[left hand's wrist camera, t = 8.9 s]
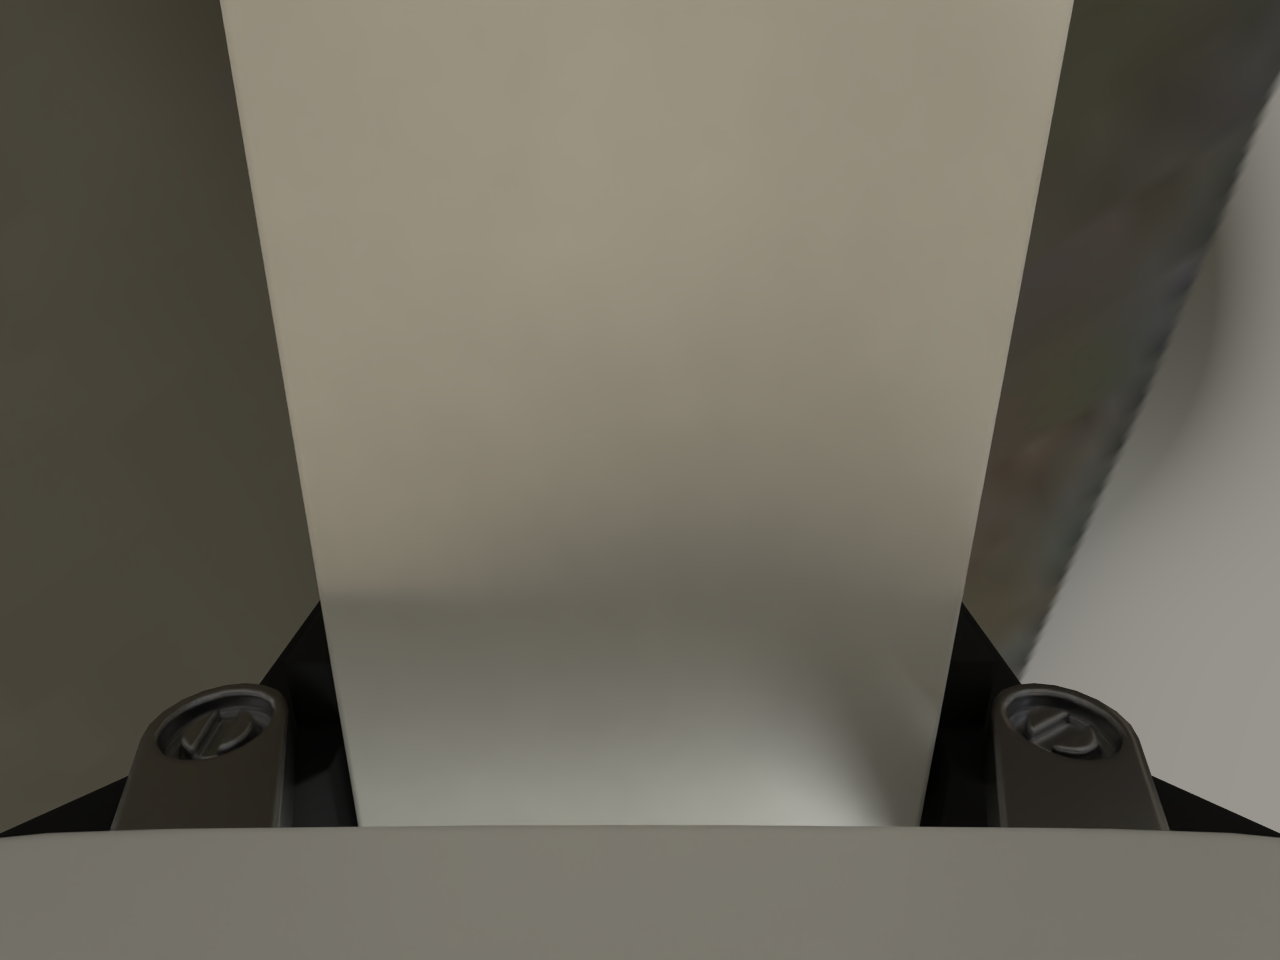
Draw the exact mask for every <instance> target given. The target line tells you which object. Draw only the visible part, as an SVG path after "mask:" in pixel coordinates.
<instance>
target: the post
mask: <svg viewBox="0 0 1280 960" xmlns="http://www.w3.org/2000/svg"><path fill="white" fill-rule="evenodd" d="M1073 2H1074V0H220V4H221V10H222V16H223V22H224V28H225V34H226V40H227V46H228V52H229V58H230V64H231V70H232V76H233V82H234V88H235V94H236V100H237V106H238V112H239V118H240V123H241V129H242V135H243V141H244V147H245V153H246V159H247V165H248V171H249V177H250V183H251V189H252V195H253V201H254V207H255V213H256V219H257V225H258V231H259V237H260V243H261V249H262V255H263V261H264V267H265V273H266V279H267V285H268V291H269V297H270V303H271V309H272V315H273V321H274V326H275V332H276V338H277V344H278V350H279V356H280V362H281V368H282V374H283V380H284V386H285V392H286V398H287V404H288V410H289V416H290V422H291V428H292V434H293V440H294V446H295V452H296V458H297V464H298V470H299V476H300V482H301V488H302V494H303V500H304V506H305V512H306V518H307V524H308V529H309V535H310V541H311V547H312V553H313V559H314V565H315V571H316V577H317V583H318V589H319V595H320V601H321V607H322V613H323V619H324V625H325V631H326V637H327V643H328V649H329V655H330V661H331V667H332V673H333V679H334V685H335V691H336V697H337V703H338V709H339V715H340V721H341V726H342V732H343V738H344V744H345V750H346V756H347V762H348V768H349V774H350V780H351V786H352V792H353V798H354V804H355V810H356V816H357V822H358V827H386V826H474V825H772V826H883V827H919V826H920V821H921V815H922V810H923V805H924V799H925V794H926V789H927V783H928V778H929V773H930V767H931V762H932V757H933V751H934V746H935V740H936V735H937V730H938V724H939V719H940V714H941V708H942V703H943V698H944V692H945V687H946V682H947V676H948V671H949V666H950V660H951V655H952V650H953V644H954V639H955V633H956V628H957V623H958V617H959V612H960V607H961V601H962V596H963V591H964V585H965V580H966V575H967V569H968V564H969V559H970V553H971V548H972V543H973V537H974V532H975V527H976V521H977V516H978V510H979V505H980V500H981V494H982V489H983V484H984V478H985V473H986V468H987V462H988V457H989V452H990V446H991V441H992V436H993V430H994V425H995V420H996V414H997V409H998V403H999V398H1000V393H1001V387H1002V382H1003V377H1004V371H1005V366H1006V361H1007V355H1008V350H1009V345H1010V339H1011V334H1012V329H1013V323H1014V318H1015V313H1016V307H1017V302H1018V297H1019V291H1020V286H1021V280H1022V275H1023V270H1024V264H1025V259H1026V254H1027V248H1028V243H1029V238H1030V232H1031V227H1032V222H1033V216H1034V211H1035V206H1036V200H1037V195H1038V190H1039V184H1040V179H1041V173H1042V168H1043V163H1044V157H1045V152H1046V147H1047V141H1048V136H1049V131H1050V125H1051V120H1052V115H1053V109H1054V104H1055V99H1056V93H1057V88H1058V83H1059V77H1060V72H1061V67H1062V61H1063V56H1064V50H1065V45H1066V40H1067V34H1068V29H1069V24H1070V18H1071V13H1072V8H1073Z"/></svg>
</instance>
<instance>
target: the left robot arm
mask: <svg viewBox="0 0 1280 960" xmlns="http://www.w3.org/2000/svg"><path fill="white" fill-rule="evenodd" d="M0 960H1280V833H1278V832H1276V831H1273V830H1271V829H1269V828H1267V827H1265V826H1262V825H1260V824H1258V823H1256V822H1253V821H1251V820H1249V819H1247V818H1245V817H1242V816H1240V815H1238V814H1236V813H1233V812H1231V811H1229V810H1227V809H1224V808H1222V807H1220V806H1218V805H1216V804H1213V803H1211V802H1209V801H1207V800H1205V799H1202V798H1200V797H1198V796H1196V795H1193V794H1191V793H1189V792H1187V791H1185V790H1182V789H1180V788H1178V787H1176V786H1173V785H1171V784H1169V783H1167V782H1165V781H1162V780H1160V779H1158V778H1156V777H1153V776H1151V773H1150V770H1149V767H1148V764H1147V761H1146V758H1145V755H1144V752H1143V749H1142V746H1141V743H1140V741H1139V738H1138V736H1137V735H1136V733H1135V731H1134V730H1133V728H1132V726H1131V725H1130V724H1129V723H1128V722H1127V721H1126V720H1125V719H1124V718H1123V717H1122V716H1121V715H1120V714H1119V713H1118V712H1116V711H1115V710H1113V709H1112V708H1110V707H1108V706H1107V705H1105V704H1104V703H1102V702H1100V701H1099V700H1097V699H1094V698H1092V697H1090V696H1087V695H1085V694H1083V693H1080V692H1078V691H1075V690H1071V689H1067V688H1063V687H1059V686H1055V685H1046V684H1036V683H1032V684H1021V683H1020V682H1019V680H1018V679H1017V678H1016V676H1015V675H1014V674H1013V672H1012V671H1011V669H1010V668H1009V667H1008V665H1007V664H1006V662H1005V661H1004V660H1003V658H1002V657H1001V656H1000V654H999V653H998V651H997V650H996V649H995V647H994V646H993V644H992V643H991V642H990V640H989V639H988V638H987V636H986V635H985V633H984V632H983V631H982V629H981V628H980V626H979V625H978V624H977V622H976V621H975V619H974V618H973V617H972V615H971V614H970V613H969V611H968V610H967V608H966V607H965V606H964V604H963V603H962V601H961V607H960V612H959V617H958V623H957V628H956V633H955V639H954V644H953V650H952V655H951V660H950V666H949V671H948V676H947V682H946V687H945V692H944V698H943V703H942V708H941V714H940V719H939V724H938V730H937V735H936V740H935V746H934V751H933V757H932V762H931V767H930V773H929V778H928V783H927V789H926V794H925V799H924V805H923V810H922V815H921V821H920V826H919V827H883V826H772V825H474V826H386V827H358V822H357V816H356V810H355V804H354V798H353V792H352V786H351V780H350V774H349V768H348V762H347V756H346V750H345V744H344V738H343V732H342V726H341V721H340V715H339V709H338V703H337V697H336V691H335V685H334V679H333V673H332V667H331V661H330V655H329V649H328V643H327V637H326V631H325V625H324V619H323V613H322V607H321V601H319V602H318V604H317V605H316V607H315V608H314V609H313V611H312V612H311V614H310V615H309V616H308V618H307V619H306V620H305V622H304V623H303V625H302V626H301V627H300V629H299V630H298V632H297V633H296V634H295V636H294V637H293V638H292V640H291V641H290V643H289V644H288V645H287V647H286V648H285V650H284V651H283V652H282V654H281V655H280V656H279V658H278V659H277V661H276V662H275V663H274V665H273V666H272V668H271V669H270V670H269V672H268V673H267V674H266V676H265V677H264V679H263V680H262V681H261V683H260V684H248V683H243V684H234V685H225V686H221V687H217V688H213V689H209V690H205V691H202V692H200V693H197V694H195V695H193V696H190V697H188V698H186V699H183V700H181V701H180V702H178V703H176V704H175V705H173V706H172V707H170V708H168V709H167V710H165V711H164V712H162V713H161V714H160V715H159V716H158V717H157V718H156V719H155V720H154V721H153V722H152V723H151V724H150V725H149V726H148V728H147V730H146V731H145V733H144V735H143V736H142V738H141V741H140V743H139V746H138V749H137V752H136V755H135V758H134V761H133V764H132V767H131V770H130V773H129V776H127V777H125V778H123V779H120V780H118V781H116V782H114V783H111V784H109V785H107V786H105V787H103V788H100V789H98V790H96V791H94V792H91V793H89V794H87V795H85V796H83V797H80V798H78V799H76V800H74V801H71V802H69V803H67V804H65V805H63V806H60V807H58V808H56V809H54V810H51V811H49V812H47V813H45V814H43V815H40V816H38V817H36V818H34V819H31V820H29V821H27V822H25V823H23V824H20V825H18V826H16V827H14V828H11V829H9V830H7V831H5V832H3V833H0Z"/></svg>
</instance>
